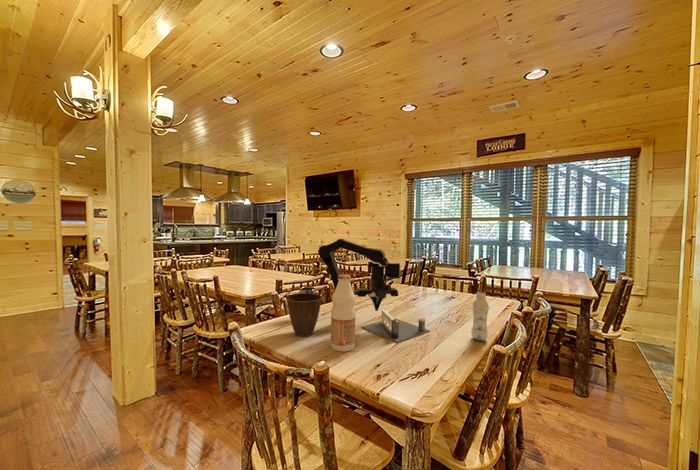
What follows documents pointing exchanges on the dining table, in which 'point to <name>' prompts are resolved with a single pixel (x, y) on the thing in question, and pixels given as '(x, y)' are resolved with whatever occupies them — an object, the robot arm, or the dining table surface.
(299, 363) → the dining table surface
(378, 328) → the mat
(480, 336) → the plastic bottle
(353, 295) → the fruit juice
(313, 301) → the plant pot
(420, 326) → the post
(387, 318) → the gate
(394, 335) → the hinge post
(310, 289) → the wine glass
